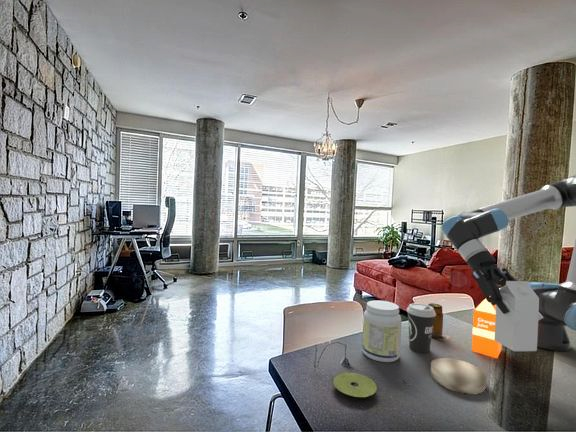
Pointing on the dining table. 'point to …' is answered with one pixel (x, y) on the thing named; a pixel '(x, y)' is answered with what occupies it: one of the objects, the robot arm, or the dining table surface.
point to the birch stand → (458, 375)
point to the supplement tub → (382, 331)
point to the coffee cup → (420, 326)
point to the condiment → (438, 323)
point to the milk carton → (526, 309)
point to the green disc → (355, 384)
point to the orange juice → (485, 330)
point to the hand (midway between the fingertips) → (528, 321)
